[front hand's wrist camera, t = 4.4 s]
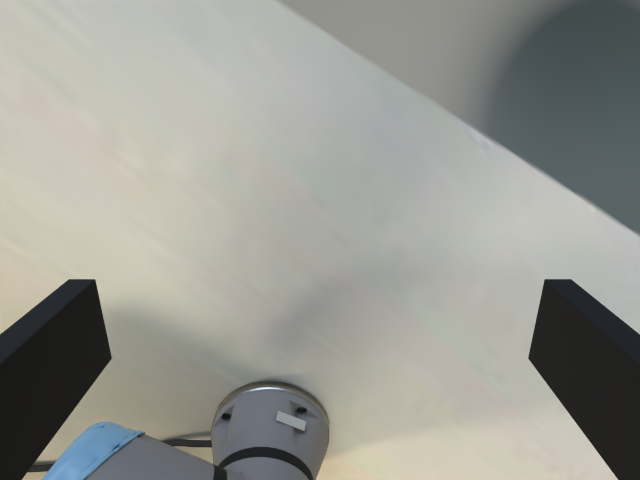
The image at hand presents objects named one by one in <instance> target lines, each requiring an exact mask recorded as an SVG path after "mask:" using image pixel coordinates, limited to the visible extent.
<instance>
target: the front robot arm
mask: <svg viewBox="0 0 640 480" xmlns="http://www.w3.org/2000/svg"><path fill="white" fill-rule="evenodd" d="M111 359H112V357H111V353H110V348H109V343H108V338H107V334H106V329H105V324H104V319H103V314H102V310H101V305H100V300H99V295H98V290H97V286H96V281H95V279H69V280H68V281H66V282H65V283H64V284H63V285H61V286H60V287H59V288H58V289H56V290H55V291H54V292H53V293H51V294H50V295H49V296H48V297H47V298H45V299H44V300H43V301H42V302H40V303H39V304H38V305H37V306H35V307H34V308H33V309H32V310H30V311H29V312H28V313H27V314H25V315H24V316H23V317H22V318H20V319H19V320H18V321H17V322H15V323H14V324H13V325H12V326H10V327H9V328H8V329H7V330H5V331H4V332H3V333H2V334H0V480H22V478H23V477H24V476H25V474H26V473H27V472H43V471H48V472H47V474H46V475H45V476H44V477H43V479H42V480H316V478H317V475H318V472H319V470H320V467H321V465H322V462H323V459H324V457H325V454H326V451H327V447H328V443H329V423H328V419H327V415H326V413H325V411H324V409H323V408H322V406H321V405H320V403H319V402H318V401H317V400H316V399H315V398H314V397H313V396H311V395H310V394H309V393H307V392H305V391H304V390H302V389H300V388H298V387H295V386H293V385H289V384H285V383H280V382H258V383H253V384H249V385H246V386H244V387H241V388H239V389H237V390H235V391H234V392H232V393H231V394H230V395H228V396H227V397H226V398H225V399H224V400H223V402H222V403H221V404H220V406H219V407H218V409H217V412H216V415H215V418H214V421H213V424H212V431H211V440H185V439H175V440H168V441H163V442H161V441H159V440H157V439H154V438H152V437H150V436H147V435H145V432H143V431H134V430H131V429H128V428H125V427H122V426H120V425H117V424H114V423H111V422H101V423H97V424H95V425H93V426H91V427H89V428H88V429H87V430H85V431H84V432H83V433H82V434H81V435H80V436H79V437H78V438H77V439H76V440H75V441H74V442H73V443H72V444H71V445H70V446H69V447H68V449H67V450H66V451H65V452H64V453H63V454H62V455H61V457H60V458H59V459H58V460H57V461H56V462H55V464H50V465H33V464H34V462H35V461H36V460H37V458H38V457H39V456H40V454H41V453H42V452H43V450H44V449H45V447H46V446H47V445H48V443H49V442H50V441H51V439H52V438H53V437H54V435H55V434H56V433H57V431H58V430H59V429H60V427H61V426H62V425H63V423H64V422H65V421H66V419H67V418H68V417H69V415H70V414H71V412H72V411H73V410H74V408H75V407H76V406H77V404H78V403H79V402H80V400H81V399H82V398H83V396H84V395H85V394H86V392H87V391H88V390H89V388H90V387H91V386H92V384H93V383H94V381H95V380H96V379H97V377H98V376H99V375H100V373H101V372H102V371H103V369H104V368H105V367H106V365H107V364H108V363H109V361H110V360H111ZM528 359H529V360H530V361H531V363H532V364H533V365H534V367H535V368H536V369H537V371H538V372H539V373H540V375H541V376H542V377H543V379H544V380H545V381H546V383H547V384H548V386H549V387H550V388H551V390H552V391H553V392H554V394H555V395H556V396H557V398H558V399H559V400H560V402H561V403H562V404H563V406H564V407H565V408H566V410H567V411H568V412H569V414H570V415H571V417H572V418H573V419H574V421H575V422H576V423H577V425H578V426H579V427H580V429H581V430H582V431H583V433H584V434H585V435H586V437H587V438H588V439H589V441H590V442H591V443H592V445H593V446H594V447H595V449H596V450H597V452H598V453H599V454H600V456H601V457H602V458H603V460H604V461H605V462H606V464H607V465H608V466H609V468H610V469H611V470H612V472H613V473H614V474H615V476H616V477H617V478H618V480H640V334H638V333H637V332H636V331H635V330H633V329H632V328H631V327H630V326H628V325H627V324H626V323H625V322H623V321H622V320H621V319H620V318H618V317H617V316H616V315H615V314H613V313H612V312H611V311H610V310H608V309H607V308H606V307H605V306H603V305H602V304H601V303H600V302H598V301H597V300H596V299H595V298H593V297H592V296H591V295H590V294H589V293H587V292H586V291H585V290H584V289H582V288H581V287H580V286H579V285H577V284H576V283H575V282H574V281H572V280H571V279H545V281H544V286H543V290H542V295H541V300H540V305H539V310H538V314H537V319H536V324H535V329H534V334H533V338H532V343H531V348H530V353H529V357H528ZM172 446H187V447H212V452H213V462H214V464H212V463H210V462H207V461H205V460H203V459H200V458H198V457H196V456H193V455H191V454H188V453H186V452H184V451H182V450H179V449H177V448H175V447H172Z"/></svg>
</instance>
